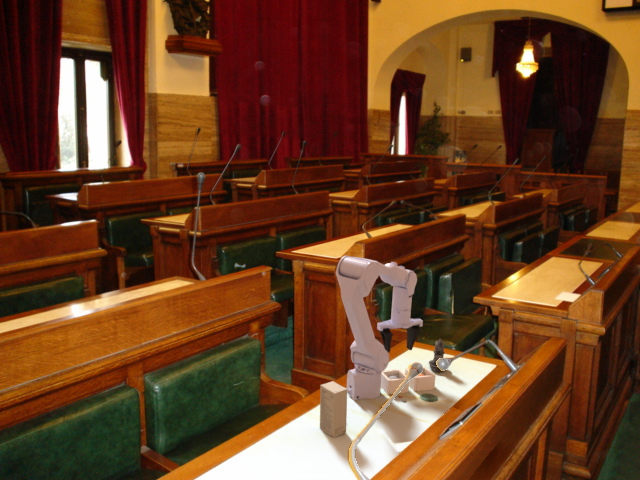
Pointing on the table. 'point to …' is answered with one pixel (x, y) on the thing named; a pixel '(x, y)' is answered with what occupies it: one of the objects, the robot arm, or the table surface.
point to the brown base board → (424, 398)
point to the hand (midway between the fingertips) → (398, 350)
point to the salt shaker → (437, 355)
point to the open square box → (393, 381)
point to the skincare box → (333, 408)
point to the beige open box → (422, 380)
